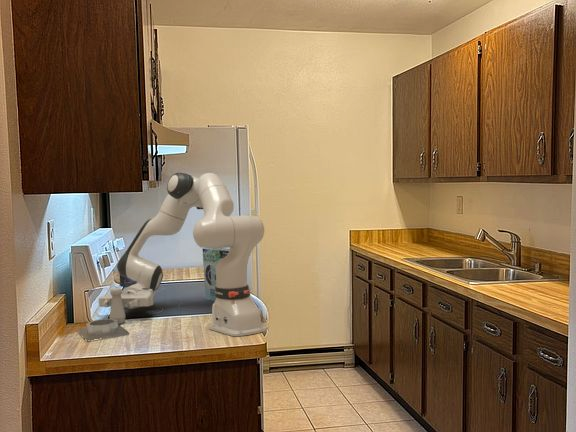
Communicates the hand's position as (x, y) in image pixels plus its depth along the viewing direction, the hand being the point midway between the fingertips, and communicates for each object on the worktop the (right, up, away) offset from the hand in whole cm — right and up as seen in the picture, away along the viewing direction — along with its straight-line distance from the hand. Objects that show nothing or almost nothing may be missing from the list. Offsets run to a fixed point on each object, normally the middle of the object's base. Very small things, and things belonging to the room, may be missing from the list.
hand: (117, 305), depth 207 cm
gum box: (+36, -4, +32) cm, 48 cm away
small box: (-17, -3, +78) cm, 80 cm away
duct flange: (-1, -8, -12) cm, 15 cm away
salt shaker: (0, -7, 0) cm, 7 cm away
